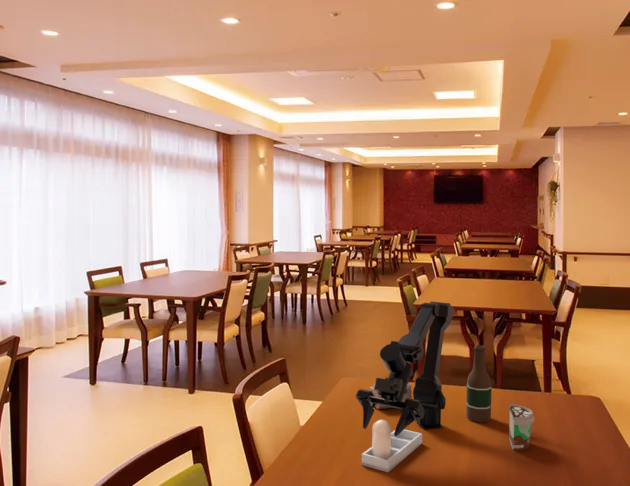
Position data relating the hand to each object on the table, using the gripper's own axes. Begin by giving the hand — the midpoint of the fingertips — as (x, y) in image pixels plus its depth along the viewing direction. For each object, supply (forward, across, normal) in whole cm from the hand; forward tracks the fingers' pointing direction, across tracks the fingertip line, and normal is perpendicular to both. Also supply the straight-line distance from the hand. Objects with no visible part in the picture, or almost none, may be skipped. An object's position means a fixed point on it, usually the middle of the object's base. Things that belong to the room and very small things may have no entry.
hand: (379, 432), depth 154 cm
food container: (-18, +28, +31) cm, 46 cm away
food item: (-24, -18, +38) cm, 48 cm away
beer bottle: (-28, +11, +41) cm, 51 cm away
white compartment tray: (0, 0, +12) cm, 12 cm away
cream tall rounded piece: (+5, 0, +7) cm, 8 cm away
